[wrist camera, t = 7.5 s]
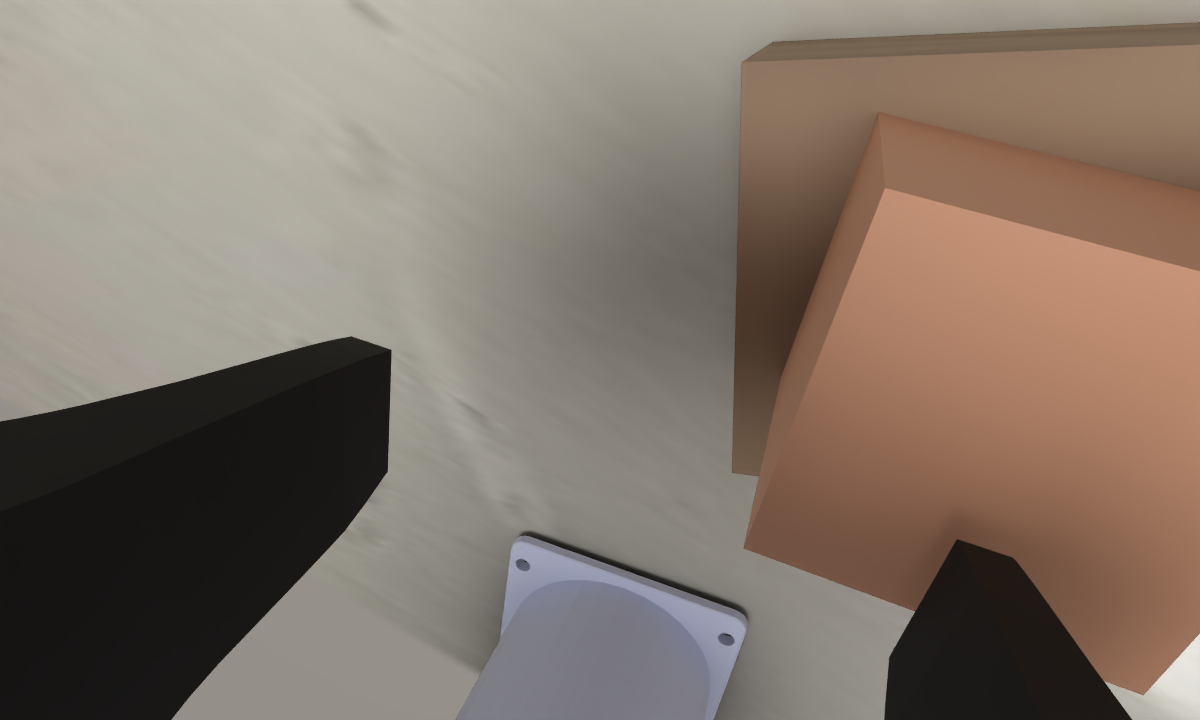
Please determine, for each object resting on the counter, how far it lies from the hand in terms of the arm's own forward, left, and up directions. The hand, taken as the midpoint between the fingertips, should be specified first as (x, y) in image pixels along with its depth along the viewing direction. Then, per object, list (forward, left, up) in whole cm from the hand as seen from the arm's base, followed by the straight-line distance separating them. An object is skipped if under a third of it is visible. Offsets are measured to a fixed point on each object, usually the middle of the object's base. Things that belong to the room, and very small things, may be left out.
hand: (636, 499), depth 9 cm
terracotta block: (+2, -4, -6) cm, 7 cm away
